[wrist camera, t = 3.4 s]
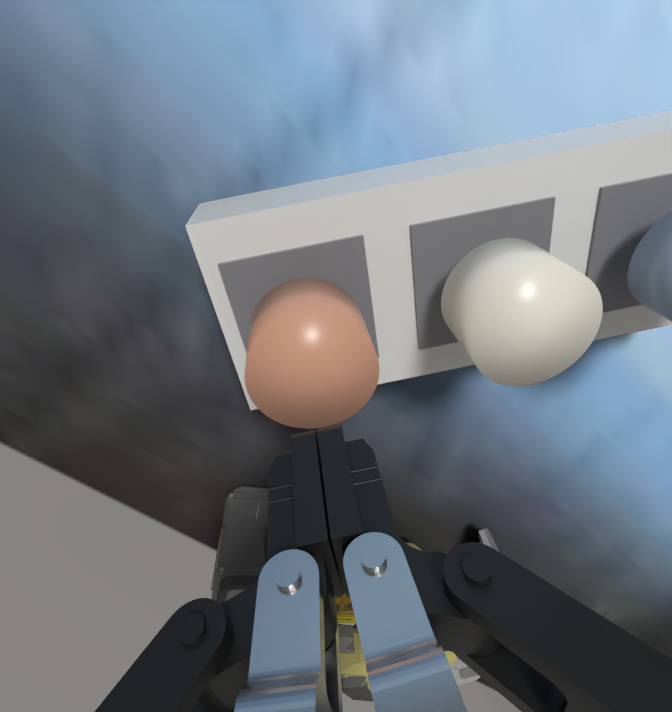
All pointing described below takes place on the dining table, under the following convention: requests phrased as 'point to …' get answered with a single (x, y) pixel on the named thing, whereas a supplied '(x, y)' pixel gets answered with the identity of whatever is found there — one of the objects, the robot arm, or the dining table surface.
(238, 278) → the console
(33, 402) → the dining table surface
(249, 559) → the circular saw
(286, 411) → the terracotta button
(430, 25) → the dining table surface
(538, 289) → the cream button
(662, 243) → the slate button
